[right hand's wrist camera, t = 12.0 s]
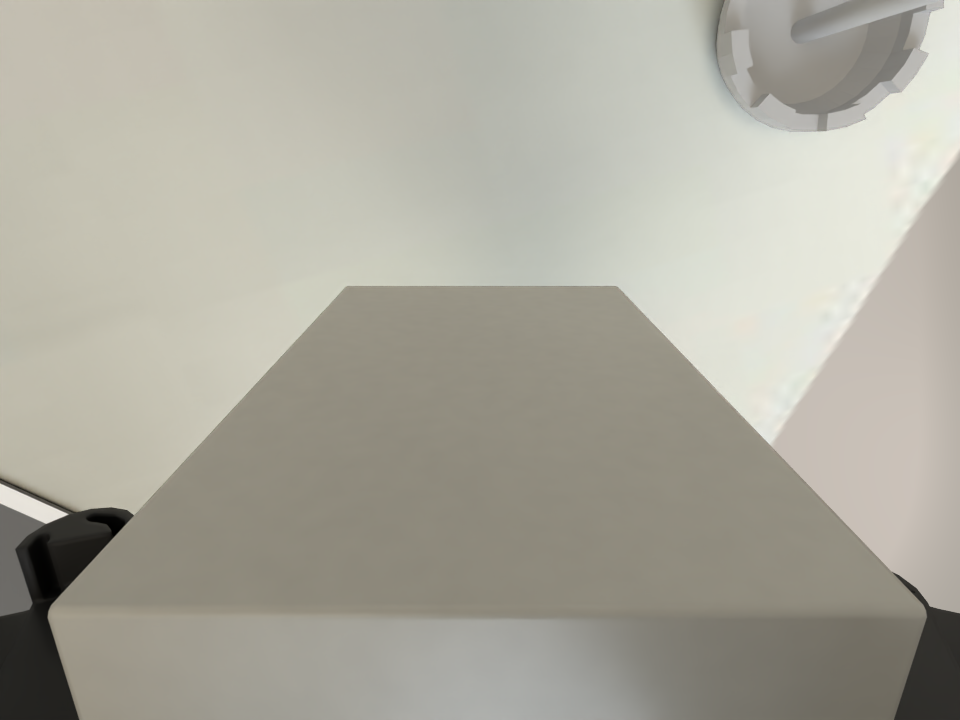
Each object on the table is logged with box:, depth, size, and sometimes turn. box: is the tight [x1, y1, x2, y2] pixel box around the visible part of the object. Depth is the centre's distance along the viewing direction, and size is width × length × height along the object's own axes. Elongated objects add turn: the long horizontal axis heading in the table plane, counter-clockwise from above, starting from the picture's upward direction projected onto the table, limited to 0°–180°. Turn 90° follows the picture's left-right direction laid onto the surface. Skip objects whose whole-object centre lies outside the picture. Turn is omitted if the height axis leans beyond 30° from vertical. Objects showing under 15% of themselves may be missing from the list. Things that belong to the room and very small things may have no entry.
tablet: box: [0, 480, 73, 616], centre depth 60 cm, size 32×20×1 cm, turn 149°
